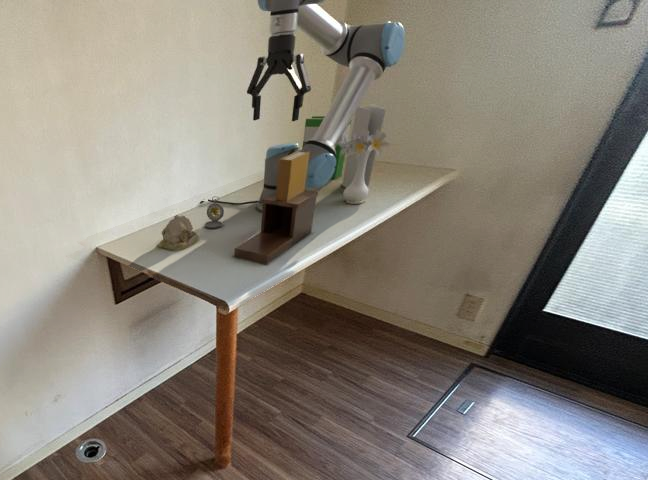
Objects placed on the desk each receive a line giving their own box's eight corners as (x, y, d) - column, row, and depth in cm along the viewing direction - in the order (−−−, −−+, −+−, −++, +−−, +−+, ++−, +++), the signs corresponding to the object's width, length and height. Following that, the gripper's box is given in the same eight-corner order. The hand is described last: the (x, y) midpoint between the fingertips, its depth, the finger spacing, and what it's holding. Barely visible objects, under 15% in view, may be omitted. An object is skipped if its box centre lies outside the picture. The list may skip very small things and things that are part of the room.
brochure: (367, 192, 173) (386, 108, 154) (353, 193, 174) (371, 110, 155) (354, 183, 184) (371, 104, 166) (342, 184, 185) (356, 105, 166)
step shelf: (233, 256, 137) (235, 213, 128) (279, 227, 153) (283, 187, 144) (267, 264, 130) (271, 220, 121) (311, 233, 146) (318, 191, 137)
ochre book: (275, 199, 135) (279, 159, 127) (293, 189, 141) (297, 150, 134) (286, 201, 132) (291, 160, 125) (304, 191, 139) (309, 151, 131)
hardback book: (298, 176, 202) (305, 119, 187) (305, 172, 206) (312, 116, 191) (335, 179, 192) (345, 119, 177) (341, 175, 196) (352, 116, 181)
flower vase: (338, 194, 175) (351, 126, 160) (382, 201, 164) (401, 128, 148) (322, 202, 169) (333, 133, 154) (366, 210, 158) (383, 136, 142)
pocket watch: (208, 230, 157) (208, 203, 151) (200, 223, 164) (200, 197, 157) (228, 226, 158) (229, 199, 152) (219, 220, 165) (220, 193, 159)
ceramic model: (172, 253, 144) (171, 224, 138) (153, 245, 151) (151, 217, 145) (203, 241, 150) (202, 213, 143) (183, 233, 157) (182, 206, 151)
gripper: (237, 39, 123) (235, 121, 137) (318, 30, 109) (306, 123, 122) (251, 37, 127) (247, 117, 141) (330, 28, 113) (318, 118, 126)
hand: (275, 120), depth 132 cm, fingers open, 13 cm apart
